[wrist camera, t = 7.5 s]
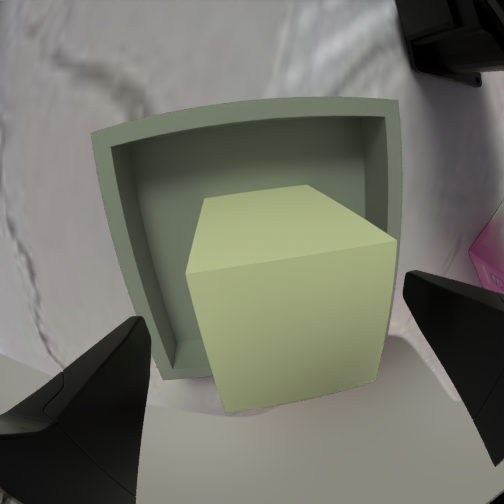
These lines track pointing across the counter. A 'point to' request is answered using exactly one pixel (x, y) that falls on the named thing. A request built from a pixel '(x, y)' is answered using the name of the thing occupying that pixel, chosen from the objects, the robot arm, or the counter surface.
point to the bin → (233, 190)
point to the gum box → (491, 253)
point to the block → (289, 295)
